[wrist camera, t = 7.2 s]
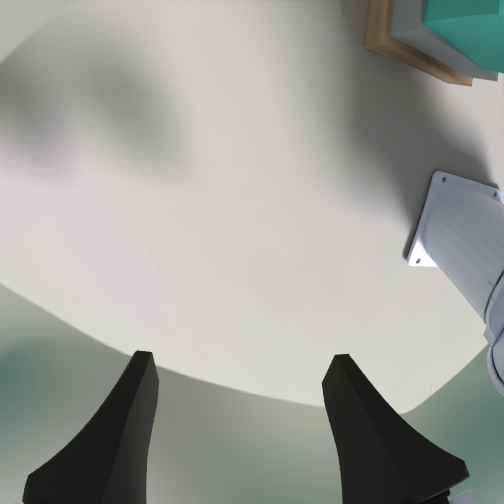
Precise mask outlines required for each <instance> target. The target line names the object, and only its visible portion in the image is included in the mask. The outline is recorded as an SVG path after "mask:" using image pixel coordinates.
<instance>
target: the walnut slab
mask: <svg viewBox="0 0 504 504" xmlns="http://www.w3.org/2000/svg"><path fill="white" fill-rule="evenodd" d="M392 8H393V0H369V8H368V18H367V28H366V36H365V44H364V49H367V50H370V51H373V52H376V53H379V54H382V55H385V56H387V57H390V58H393V59H395V60H398V61H400V62H403V63H405V64H407V65H410V66H412V67H414V68H417V69H419V70H421V71H423V72H426V73H428V74H430V75H432V76H434V77H436V78H438V79H440V80H442V81H444V82H446V83H449V84H457V85H465V86H471V87H472V78H470V77H464V76H463V75H461V74H460V73H458V72H456V71H455V70H453V69H452V68H450V67H448V66H447V65H445V64H443V63H441V62H440V61H438V60H436V59H434V58H433V57H431V56H429V55H427V54H425V53H423V52H421V51H420V50H418V49H416V48H414V47H412V46H410V45H408V44H405V43H403V42H401V41H399V40H397V39H395V38H392V37H390V36H389V31H390V24H391V16H392Z"/></svg>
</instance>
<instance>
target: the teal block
mask: <svg viewBox="0 0 504 504" xmlns="http://www.w3.org/2000/svg"><path fill="white" fill-rule="evenodd" d="M423 24H424V25H426V26H427V27H429V28H430V29H432V30H433V31H435V32H436V33H438V34H439V35H440V36H442V37H443V38H445V39H446V40H447V41H449V42H450V43H451V44H453V45H454V46H455V47H456V48H458V49H459V50H460V51H461V52H463V53H464V54H465V55H466V56H468V57H469V58H470V59H471V60H472V61H473V62H475V63H476V64H477V65H478V66H479V67H480V68H481V69H483V70H485V71H493V72H500V73H504V0H428V1H427V6H426V11H425V15H424V20H423Z"/></svg>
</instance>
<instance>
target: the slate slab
mask: <svg viewBox="0 0 504 504" xmlns="http://www.w3.org/2000/svg"><path fill="white" fill-rule="evenodd" d="M427 1H428V0H393V8H392V16H391V24H390V31H389V36H390V37H392V38H395V39H397V40H399V41H401V42H403V43H405V44H408V45H410V46H412V47H414V48H416V49H418V50H420V51H421V52H423V53H425V54H427V55H429V56H431V57H433V58H434V59H436V60H438V61H440V62H441V63H443V64H445V65H447V66H448V67H450V68H452V69H453V70H455V71H456V72H458V73H460V74H461V75H463V76H464V77H470V78H479V79H486V80H493V81H497V79H498V72H493V71H485V70H483V69H481V68H480V67H479V66H478V65H477V64H476V63H475V62H473V61H472V60H471V59H470V58H469V57H468V56H466V55H465V54H464V53H463V52H461V51H460V50H459V49H458V48H456V47H455V46H454V45H453V44H451V43H450V42H449V41H447V40H446V39H445V38H443V37H442V36H440V35H439V34H438V33H436V32H435V31H433V30H432V29H430V28H429V27H427V26H426V25H424V24H423V20H424V15H425V11H426V6H427Z"/></svg>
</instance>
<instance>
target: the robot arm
mask: <svg viewBox="0 0 504 504" xmlns="http://www.w3.org/2000/svg"><path fill="white" fill-rule="evenodd" d="M443 177H444V180H443V181H442V179H443ZM503 196H504V193H503V191H501V190H499V189H496V188H493V187H490V186H487V185H484V184H481V183H478V182H475V181H472V180H469V179H466V178H462V177H459V176H456V175H452V174H449V173H445V172H441V171H436V172H435V173H434V174H433V177H432V181H431V185H430V189H429V192H428V196H427V199H426V203H425V206H424V210H423V213H422V216H421V219H420V222H419V225H418V229H417V232H416V235H415V237H414V240H413V243H412V246H411V249H410V252H409V254H408V257H407V263H408V264H409V265H410V266H435V267H439V268H440V269H441V270H442V271H443V272H444V273H445V275H446V276H447V277H448V278H449V279H450V280H451V281H452V283H453V284H454V285H455V286H456V287H457V288H458V290H459V291H460V292H461V293H462V294H463V296H464V297H465V298H466V299H467V301H468V302H469V303H470V304H471V306H472V307H473V308H474V309H475V311H476V312H477V313H478V314H479V316H480V317H481V318H482V320H483V321H484V322H485V324H486V330H485V332H484V337H485V338H486V339H487V341H488V342H489V344H490V345H491V346H490V348H489V351H488V356H487V366H488V371H489V374H490V377H491V379H492V381H493V383H494V385H495V387H496V388H497V390H498V391H499V392H500V393H501V394H502V395H503V396H504V204H503V203H502V200H503ZM417 259H418V260H417ZM416 260H417V261H416ZM158 388H159V379H158V375H157V371H156V367H155V363H154V358H153V354H152V352H147V351H138V350H137V351H136V352H135V353H134V355H133V356H132V358H131V360H130V362H129V364H128V365H127V367H126V369H125V371H124V372H123V374H122V375H121V377H120V379H119V380H118V382H117V383H116V385H115V386H114V388H113V389H112V391H111V392H110V394H109V395H108V397H107V398H106V400H105V401H104V402H103V404H102V405H101V406H100V408H99V409H98V410H97V412H96V413H95V414H94V416H93V417H92V418H91V419H90V421H89V422H88V423H87V424H86V426H84V428H83V429H82V430H81V431H80V432H79V433H78V434H77V435H76V436H75V437H74V438H73V439H72V440H71V441H70V442H69V443H68V444H67V445H66V446H65V447H64V448H63V449H62V450H61V451H59V452H58V453H57V454H56V455H55V456H54V457H52V458H51V459H50V460H49V461H48V462H46V463H45V464H43V465H42V466H41V467H40V468H38V469H36V470H35V471H34V472H33V473H31V474H30V475H28V478H27V481H26V484H25V488H24V494H23V499H22V501H23V503H24V504H146V473H147V456H148V448H149V443H150V438H151V432H152V427H153V422H154V417H155V411H156V407H157V399H158ZM322 388H323V396H324V402H325V407H326V411H327V414H328V418H329V422H330V425H331V429H332V432H333V436H334V440H335V444H336V447H337V452H338V457H339V465H340V472H341V483H342V498H343V504H476V502H475V498H474V495H473V492H472V489H471V488H469V489H467V490H465V491H463V492H461V493H460V494H458V495H456V496H454V497H452V498H450V499H448V498H447V496H449V495H450V490H449V488H452V487H453V486H455V485H457V484H459V483H461V482H462V481H464V480H466V479H467V478H469V476H470V475H469V472H468V470H467V467H466V465H465V462H464V461H463V460H461V459H459V458H457V457H455V456H453V455H452V454H450V453H448V452H446V451H444V450H443V449H441V448H439V447H438V446H436V445H435V444H433V443H432V442H430V441H429V440H428V439H426V438H425V437H424V436H422V435H421V434H420V433H418V432H417V431H416V430H415V429H413V428H412V427H411V426H410V425H409V424H408V423H407V422H406V421H405V420H403V419H402V418H401V417H400V416H399V415H398V414H397V413H396V411H395V410H394V409H393V408H392V407H391V406H390V405H389V404H388V403H387V402H386V401H385V399H384V398H383V397H382V396H381V395H380V393H379V392H378V391H377V390H376V389H375V387H374V386H373V385H372V384H371V382H370V381H369V380H368V379H367V377H366V376H365V375H364V373H363V372H362V371H361V370H360V368H359V367H358V366H357V364H356V363H355V362H354V360H353V359H352V358H351V357H350V355H349V354H340V355H335V356H334V358H333V360H332V362H331V364H330V367H329V369H328V371H327V373H326V375H325V377H324V379H323V381H322ZM14 504H17V503H14Z"/></svg>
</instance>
